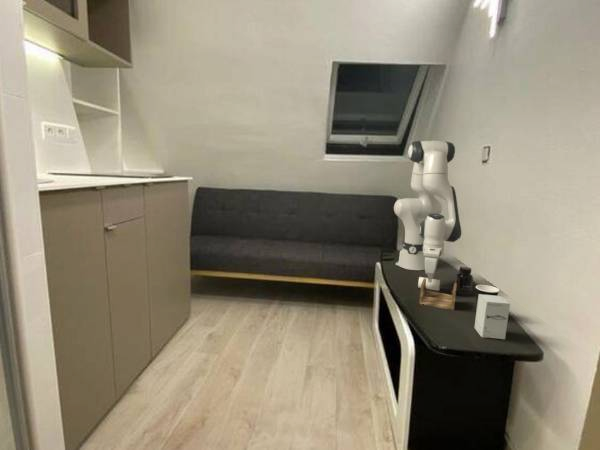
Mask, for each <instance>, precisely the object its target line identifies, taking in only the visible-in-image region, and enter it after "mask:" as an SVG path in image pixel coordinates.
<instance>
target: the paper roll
mask: <svg viewBox="0 0 600 450" xmlns="http://www.w3.org/2000/svg"><path fill="white" fill-rule="evenodd" d="M424 278H425V279H426V290H430V291H435V292H436V291H437V292H439V291H440V288H441V279H435V278H432V282H431V283H430V282H428V277H422V276H419V277H418V282H417V287H418V289H419V288H420V289H421V284H422V281H423V279H424Z"/></svg>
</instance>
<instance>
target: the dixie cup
mask: <svg viewBox="0 0 600 450" xmlns="http://www.w3.org/2000/svg"><path fill="white" fill-rule="evenodd" d="M475 289H476V290H475V291H476V294H475V295H476V298H475V299H476V300H475V302H476V305H475V306H476V308H475V309H476V310H475V311H476V312H477V304H478V295H479V294H483V295H494V296H499V292H500V289H499V288H498V287H495V286H492V285H487V284H477V285H476V286H475Z"/></svg>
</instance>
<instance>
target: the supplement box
mask: <svg viewBox="0 0 600 450" xmlns="http://www.w3.org/2000/svg"><path fill="white" fill-rule="evenodd" d="M510 305H511V303H510V302H509V301H508V300H507V299H505V298H504V297H503V296H501V295H498V296H494V295H483V294H479V295H478V304H477V312H476V313H475V320H474V329H475V331H476V332H477V333H478V335H479V336H480V337H481V338H488V339H489V338H490V339H498V340H499V339H500V340H506V334H507V329H508V328H507V327H508V321H509V313H510V307H511V306H510Z"/></svg>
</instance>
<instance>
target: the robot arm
mask: <svg viewBox="0 0 600 450" xmlns="http://www.w3.org/2000/svg"><path fill="white" fill-rule="evenodd" d="M455 153H456V147H455V144H454V143H452V142H451V141H450V142H449V141H442V140H422V141H421V140H415V141H412V142H411V143H410V145H409V148H408V151H407V154H408V159H409V160H410V161H411V162H412V163H413V167H412V173H411V179H410V188H411V189H412V190H413V191H414V192H416V193H417V194H418V198H415V197H413V198H412V197H406V198H405V197H404V198H399V199H397V200H396V201H395V203H394V205H393V211H394V214H395V215H396V216H397V217H398V218H399V219H400V220H401V222H402V224H403V226H404V241H403V244H402V249H401V250H400V251H399V258H398V261H397V262H395V266H399V267H400V268H403V269H405V270H410V271H424V272H425V275H427V278H428V282H430V283H431V282H432V279H433V278H434V275H435V273H436V269H437V267H438V261H439V259H440V258H441V257H442V256H443V255H444V251H445V242H447V243H448V242H449V243H454V242H457V241H458V240H459V239H460V238H461V236H462V226H461V222H460V215H459V206H458V201H457V193H456V189H455V188H454V186H452V185H451V183H450V182H449V178H448V173H449V166H448V165H449V164H448V163H450V162H451V161H453V159H454V158H455ZM436 196H437V197H439V198H440V199H443V200H444V201H445V203H446V205H447V215H448V219H447V220H446V217H445V216H444V215H443V214H441V213H442V210H443V208H442V204H441V202H440V200H439V199H437V197H436ZM418 219H423V220H422V221H421V222H419V223H418Z"/></svg>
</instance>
